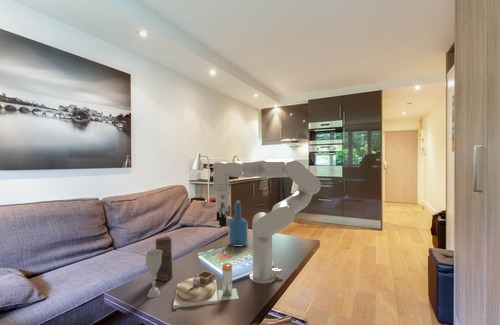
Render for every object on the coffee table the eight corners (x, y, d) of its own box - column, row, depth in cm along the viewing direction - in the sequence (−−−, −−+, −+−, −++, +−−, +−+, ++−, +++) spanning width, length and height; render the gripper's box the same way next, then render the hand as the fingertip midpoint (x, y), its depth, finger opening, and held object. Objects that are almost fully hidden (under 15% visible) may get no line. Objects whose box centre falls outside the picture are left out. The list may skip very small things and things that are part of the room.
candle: (154, 283, 111) (154, 240, 111) (156, 276, 118) (156, 235, 118) (172, 281, 113) (172, 238, 113) (172, 274, 120) (172, 234, 120)
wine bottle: (251, 243, 166) (251, 200, 167) (240, 248, 155) (240, 203, 155) (235, 240, 174) (235, 199, 174) (224, 245, 162) (224, 201, 163)
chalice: (165, 289, 105) (164, 249, 105) (159, 298, 98) (159, 254, 98) (148, 290, 104) (148, 249, 105) (141, 299, 98) (141, 255, 98)
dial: (197, 305, 90) (197, 292, 90) (168, 294, 98) (168, 282, 98) (223, 286, 104) (223, 274, 104) (196, 277, 112) (196, 267, 112)
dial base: (215, 283, 110) (215, 279, 110) (217, 304, 94) (217, 300, 94) (178, 286, 107) (178, 283, 107) (173, 309, 91) (173, 305, 91)
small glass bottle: (229, 290, 103) (229, 262, 103) (233, 294, 99) (233, 265, 100) (221, 293, 101) (220, 264, 101) (225, 297, 97) (224, 268, 98)
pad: (236, 289, 105) (236, 288, 105) (238, 299, 97) (238, 298, 97) (217, 291, 103) (217, 290, 103) (218, 301, 95) (218, 300, 95)
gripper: (232, 189, 108) (232, 226, 107) (226, 185, 124) (225, 218, 124) (215, 189, 106) (215, 227, 106) (211, 186, 122) (211, 219, 122)
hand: (221, 222), depth 115 cm, fingers open, 9 cm apart
